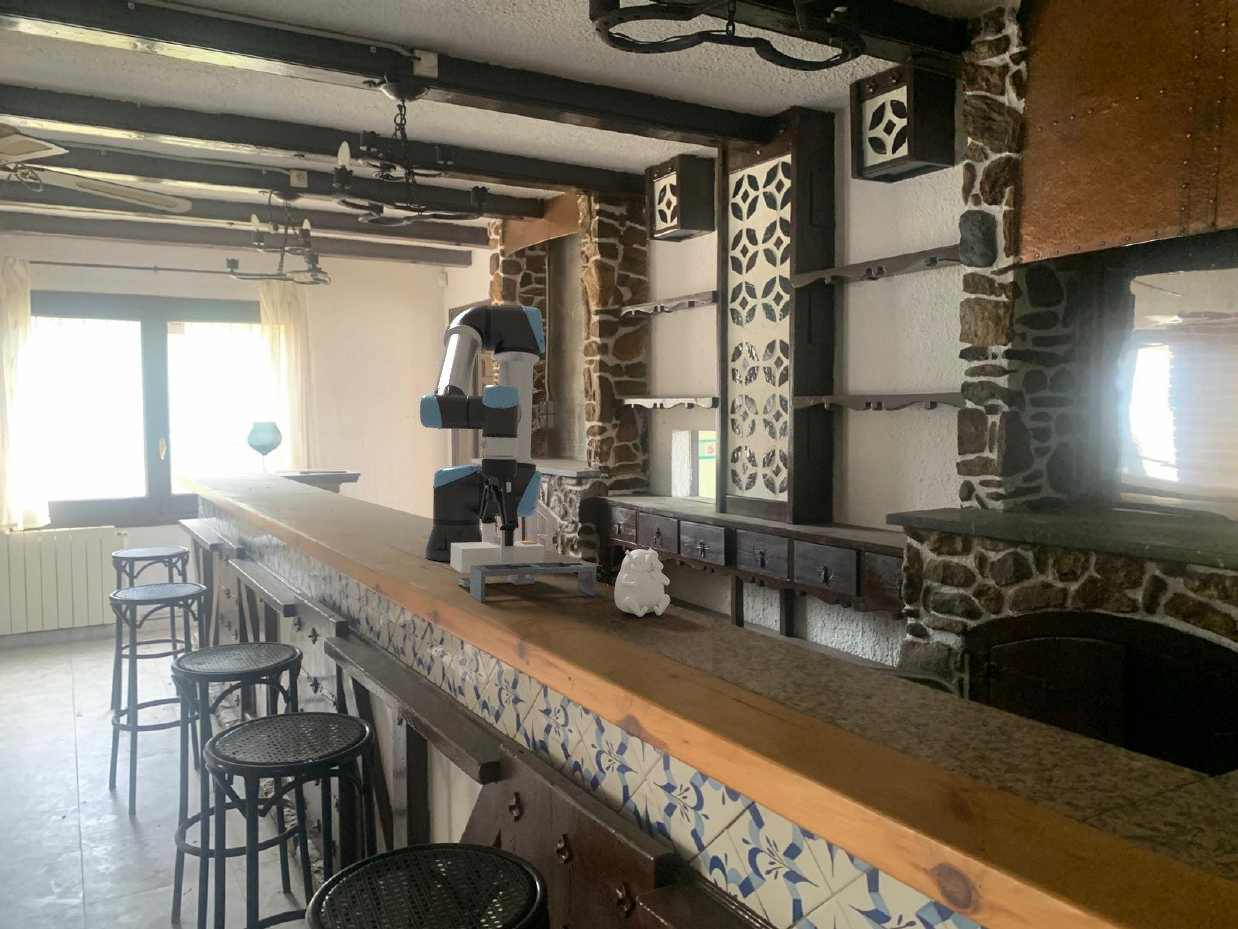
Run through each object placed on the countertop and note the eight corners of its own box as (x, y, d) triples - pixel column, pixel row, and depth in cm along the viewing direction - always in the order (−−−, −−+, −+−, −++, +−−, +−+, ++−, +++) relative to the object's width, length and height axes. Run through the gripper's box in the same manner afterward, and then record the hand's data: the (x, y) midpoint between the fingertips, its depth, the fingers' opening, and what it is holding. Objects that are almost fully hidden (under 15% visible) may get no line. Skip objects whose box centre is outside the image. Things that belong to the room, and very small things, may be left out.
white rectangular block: (450, 582, 199) (450, 541, 198) (529, 578, 206) (530, 539, 206) (461, 589, 190) (461, 547, 190) (543, 585, 198) (544, 544, 198)
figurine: (604, 610, 174) (606, 546, 173) (650, 607, 178) (652, 544, 177) (627, 621, 165) (628, 554, 164) (675, 617, 169) (677, 552, 168)
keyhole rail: (469, 595, 184) (470, 565, 184) (581, 589, 194) (582, 560, 194) (480, 602, 178) (481, 571, 177) (595, 595, 188) (596, 566, 187)
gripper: (466, 455, 207) (464, 550, 208) (500, 459, 184) (497, 566, 185) (498, 456, 210) (496, 549, 211) (535, 460, 187) (533, 564, 188)
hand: (497, 557), depth 198 cm, fingers open, 13 cm apart
